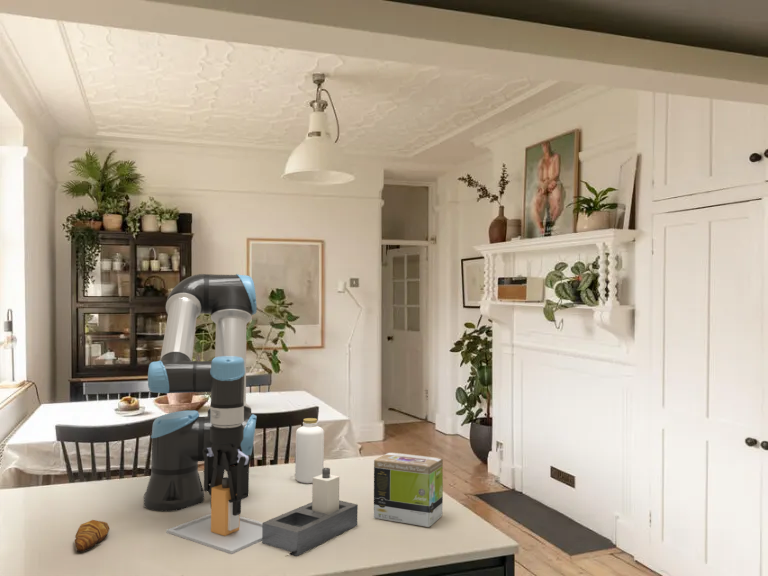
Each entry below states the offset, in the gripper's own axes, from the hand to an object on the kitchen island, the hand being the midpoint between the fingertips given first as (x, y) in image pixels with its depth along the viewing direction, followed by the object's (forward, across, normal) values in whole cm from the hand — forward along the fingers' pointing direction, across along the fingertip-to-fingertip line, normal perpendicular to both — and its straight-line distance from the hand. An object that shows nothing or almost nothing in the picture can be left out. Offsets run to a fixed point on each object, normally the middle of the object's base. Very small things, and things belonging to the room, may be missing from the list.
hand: (225, 525), depth 147 cm
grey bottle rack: (+2, +17, +11) cm, 20 cm away
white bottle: (+2, -11, +44) cm, 45 cm away
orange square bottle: (+1, 0, 0) cm, 1 cm away
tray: (+2, 0, 0) cm, 2 cm away
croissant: (+2, -20, -20) cm, 29 cm away
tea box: (+2, +29, +34) cm, 44 cm away
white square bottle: (0, +17, +16) cm, 23 cm away
